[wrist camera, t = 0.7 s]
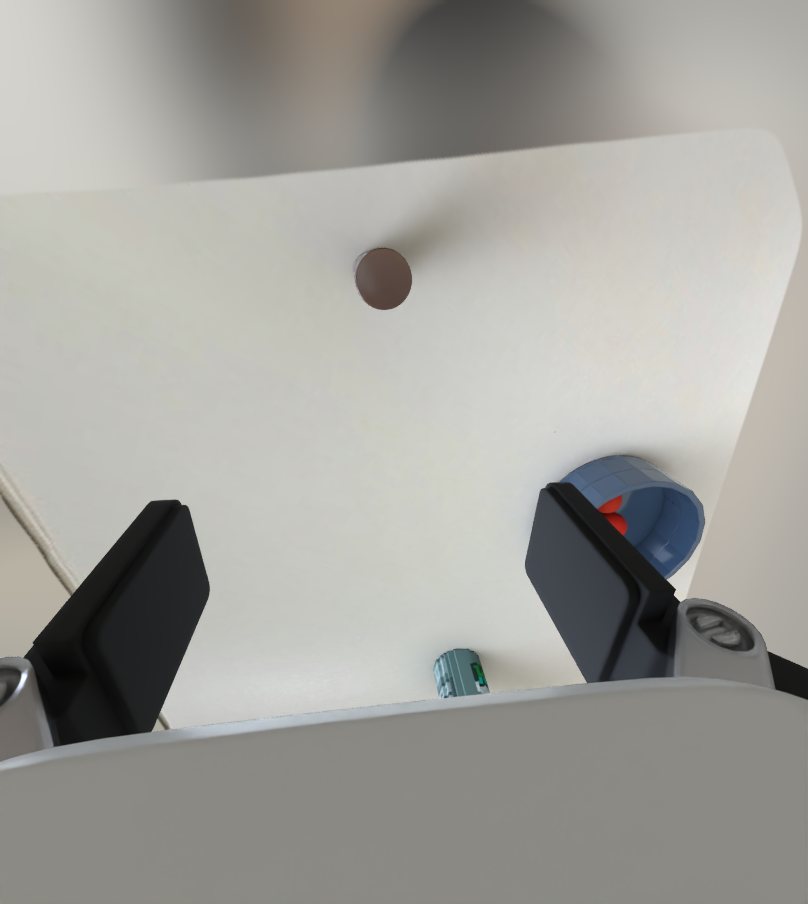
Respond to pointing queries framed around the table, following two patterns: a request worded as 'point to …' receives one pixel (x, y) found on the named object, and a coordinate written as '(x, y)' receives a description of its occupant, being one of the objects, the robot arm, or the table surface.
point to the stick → (382, 278)
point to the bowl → (646, 508)
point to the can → (460, 674)
